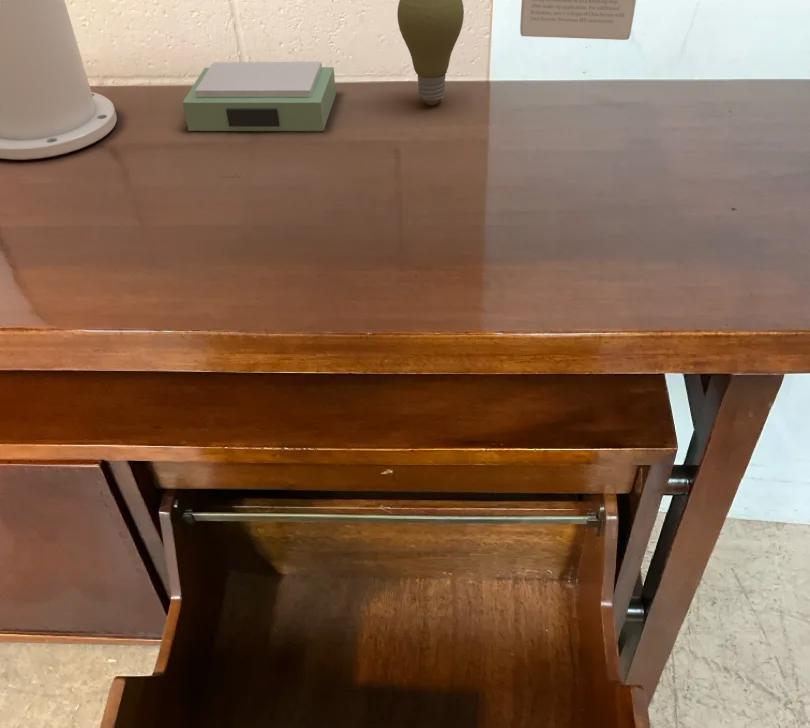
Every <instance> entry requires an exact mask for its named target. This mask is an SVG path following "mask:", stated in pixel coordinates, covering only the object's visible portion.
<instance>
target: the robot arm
mask: <svg viewBox="0 0 810 728" xmlns="http://www.w3.org/2000/svg"><path fill="white" fill-rule="evenodd" d="M68 11H69V10H68V8H67V4H66V1H65V0H0V159H1V160H13V161H14V160H15V161H16V160H17V161H18V160H19V161H21V160H22V161H24V160H25V161H27V160H38V159H39V160H40V159H45V158H53V157H57V156H60V155H65V154H69V153H71V152H76V151H78V150H82V149H83V148H86V147H88V146H91V145H93V144H95V143H96V142H98V141H100V140H102V139H103V138H104V137H106V136H107V135H108V134H110V132H111V131H112V130H113V129H114V128H115V126H116V123H117V121H118V117H117V112H116V109H115V106H114V103H113V102H112V101H111V100H110V99H109V97H106V96H104V95H102V94H100V93H97V92H94V91H92V90H91V86H90V82H89V80H88V76H87V73H86V69H85V66H84V62H83V59H82V55H81V51H80V48H79V45H78V42H77V39H76V35H75V31H74V29H73V28H74V27H73V24H72V21H71V18H70V13H69V12H68Z"/></svg>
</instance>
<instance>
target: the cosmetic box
mask: <svg viewBox="0 0 810 728" xmlns="http://www.w3.org/2000/svg"><path fill="white" fill-rule="evenodd" d="M636 4H637V0H521V7H520V21H519V23H520V25H519V29H520V30H519V31H520V36H521V37H529V38H532V37H533V38H534V37H535V38H562V39H563V38H564V39H587V40H588V39H591V40H617V41H622V40H623V41H628V40H630V37H631V34H632V28H633V23H634V22H633V21H634V16H635V10H636Z"/></svg>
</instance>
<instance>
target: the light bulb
mask: <svg viewBox="0 0 810 728" xmlns="http://www.w3.org/2000/svg"><path fill="white" fill-rule="evenodd" d="M397 4H398V5H397V13H396V14H397V17H396V18H397V24H398V28H399V32H400V34H401V36H402V39H403V41H404V43H405V44H406V47H407V49H408V52H409V55H410V57H411V61H412V67H413V70H414V72H415V73H416V75H417V82H418V83H417V90H418V93H417V94H418V97H419V99H420V100H422V101H423V102H424V103H425V104H427V106H435V105H437V104H438V103H439V102H440V101H441V100H442V99H443V98H444V97H445V96H446V75H447V72H448V69H449V65H450V61H451V56H452V52H453V50H454V47H455V45H456V43H457V41H458V39H459V36H460V34H461V31H462V29H463V24H464V17H465V16H464V14H465V10H464V2H463V0H399V1H398V3H397Z"/></svg>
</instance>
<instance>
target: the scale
mask: <svg viewBox="0 0 810 728" xmlns="http://www.w3.org/2000/svg"><path fill="white" fill-rule="evenodd" d="M322 65H323V64H322V61H213V62H212V63H211V64H210V66H209V67H204V68H203V70H202V71H201V72H200V74H199V75H198V77H197V79H196V81H195V82H194V84H193V85H192V87H191V88H190V90H189V91H188V93H187V95H186V96H185V98H184V99H183V101H182V102H181V103H182V108H183V112H184V117H185V120H186V125H187V131H188V132H324V131H325V128H326V124H327V122H328V119H329V116H330V113H331V110H332V108H333V104H334V102H335V99H336V96H337V91H336V90H337V89H336V79H335V68H334V66H322Z"/></svg>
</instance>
